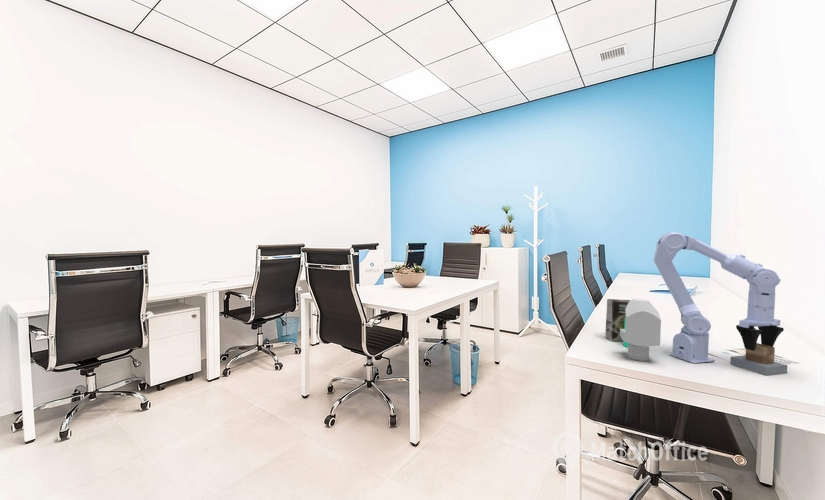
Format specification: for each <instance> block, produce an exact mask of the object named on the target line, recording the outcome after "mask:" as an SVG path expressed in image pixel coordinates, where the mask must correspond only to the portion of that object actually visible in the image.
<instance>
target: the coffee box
mask: <svg viewBox="0 0 825 500" xmlns="http://www.w3.org/2000/svg"><path fill="white" fill-rule="evenodd" d="M631 300H632V299H618V298H617V299H615V298H613V299H612V298H607V299H606V314H605V316H606V317H605V318H606V319H605V334H604V336H605V338H607V339H608V340H609V341H610V342H617V343H618V342H619V343H624V341H623V340H622V338H621V336H620V329H624V324H625V318H626V315H625V309H626V307H627V305H628V303H629V302H630V301H631Z"/></svg>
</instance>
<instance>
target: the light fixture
mask: <svg viewBox="0 0 825 500" xmlns="http://www.w3.org/2000/svg"><path fill="white" fill-rule="evenodd" d="M630 300H631V301H630V302H629V303H628V305H627V307H626V309H625V315H626V329H620V336H621V338H622V340H623V341H624V342H627V343H629V344H628V347H627V358H630V359H631V360H635V361H638V362H640V361H641V362H647V361H649V358H650V347H659V346H661V332H662V331H661V330H662V318H661V315H660V313H659V311H658V310H657V309H656V307H655V306H654V305H653V304H652V303H651V301H649V300H648V299H643V298H631V299H630ZM624 342H623V343H624Z"/></svg>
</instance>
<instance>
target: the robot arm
mask: <svg viewBox="0 0 825 500" xmlns="http://www.w3.org/2000/svg"><path fill="white" fill-rule="evenodd" d="M681 250H687V251H688V250H689V251H694V252H697V253H698V254H701V255H703V256H706V257H707V258H709V259H712V260H713V261H715V262H718V263H719V264H720V266H721V268H722V269H723V270H724V271H727V272H728V273H731V274H732V275H735V276H737V277H739V278H741V279H742V280H746V282H747V283H748V285H749V287H748V295H747V296H748V297H747V313H746V316H747V317H746V318H744V319H742V320H741V319H740V320H739V321H738V322H739V323H738V324H737V325H735V328H736V329H737V331H738V333H739V335H740V336H741V339H742V342H743V346H744V350H746V349H748V350H752V351H754V350H755V348H756V344H757V343H758V340H759V337H760V342H761V343H760V344H763V345H767V346H771V347H775V343H776V341H777V339H778V338H779V336H780V335H781V333H783V332H784V330H785V329H784V327H781V319H776V318H775V306H776V305H775V304H776V287H777V286H778V285H779V284H780V283H781V278H780V277H779V275H778V273H777V272H776V271H775V270H771V269H768V268H764V265H763V264H761V263H755V262H753V261H751V260H749V259H747V258H746V256H745V254H736V253H733V254H732V253H731V254H727V253H724V252H723V251H721V250H719V249H717V248H715V247H713V246H711V245H709V244H707V243H705V242H703V241H701V240H700V239H697V238H694V237H692V236H690V235H684V234H683V233H682V232H678V231H672V232H667V233H664V234H662V235H661V237H660V238H659V239H658V241H657V242H656V247H655V252H654V254H653V255H654V256H653V262H654V264H655V266H656V268H657V270H658V272H659V273H660V275H661V277H662V279H663V281H664V283H665V284H666V287H667V289H668V291H669V292H670V294H671V297H672V299H673V301H674V302H675V304H676V305H677V308H678V311H679V313H680V321H681V323H682V325H683V326H682V327H681V328H680V332H679V333H676V334H675V335H674V336H673V339H672V353H669V355H670V356H672V357H675V358H677V359H681V360H683V361H687V362H689V363H692V364H701V363H711V362H715V361H716V359H713V358H710V357H709V346H710V345H709V339H710V332H709V331H710V330H711V327H712V325H711V322H710V321H709V319H708V318H707V317H705V316H703V314H702V313H701V311H700V309H699V308H698V306H697V305H696V304H695V302H694V300H693V298H692V296H691V295H690V293H689V291H688V289H687V287H686V286H685V283H684V282H683V279H682V278H681V276H680V274H679V272H678V271H677V268H676V266H675V264H674V263H673V260H674V258H675V257H676V255H677V253H678V252H680V251H681ZM756 328H758V329H756Z"/></svg>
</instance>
